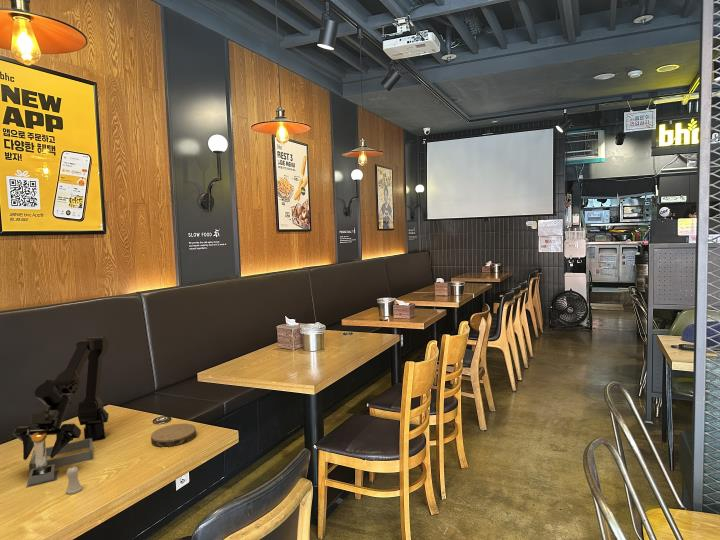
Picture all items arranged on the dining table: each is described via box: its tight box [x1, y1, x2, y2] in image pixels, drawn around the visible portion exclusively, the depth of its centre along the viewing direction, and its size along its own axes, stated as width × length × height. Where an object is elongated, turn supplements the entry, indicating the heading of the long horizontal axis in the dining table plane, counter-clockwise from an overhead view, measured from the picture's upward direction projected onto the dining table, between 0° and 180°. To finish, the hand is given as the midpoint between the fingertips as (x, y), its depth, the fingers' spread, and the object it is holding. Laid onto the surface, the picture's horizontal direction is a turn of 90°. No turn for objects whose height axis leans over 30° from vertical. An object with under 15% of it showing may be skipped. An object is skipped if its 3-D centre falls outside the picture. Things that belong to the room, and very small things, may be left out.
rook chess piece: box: [65, 465, 83, 495], centre depth 143 cm, size 4×4×8 cm
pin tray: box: [28, 438, 94, 471], centre depth 165 cm, size 18×13×4 cm
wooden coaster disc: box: [150, 423, 197, 449], centre depth 181 cm, size 16×16×3 cm
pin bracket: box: [25, 464, 59, 488], centre depth 151 cm, size 8×8×4 cm
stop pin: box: [31, 432, 48, 475], centre depth 151 cm, size 4×4×14 cm
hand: (38, 458), depth 150 cm, fingers open, 8 cm apart
